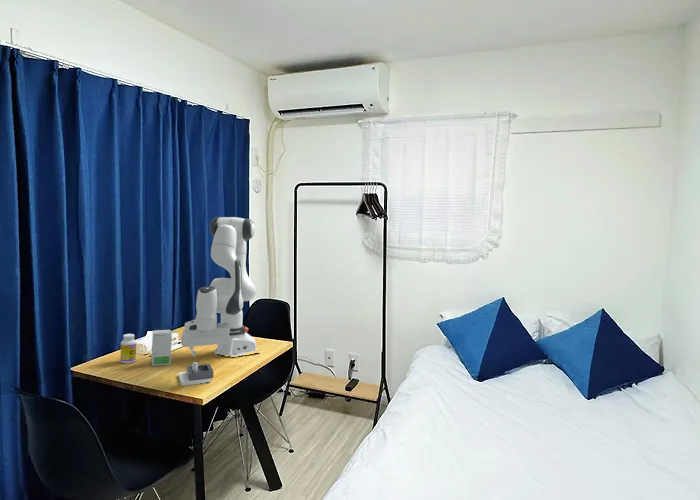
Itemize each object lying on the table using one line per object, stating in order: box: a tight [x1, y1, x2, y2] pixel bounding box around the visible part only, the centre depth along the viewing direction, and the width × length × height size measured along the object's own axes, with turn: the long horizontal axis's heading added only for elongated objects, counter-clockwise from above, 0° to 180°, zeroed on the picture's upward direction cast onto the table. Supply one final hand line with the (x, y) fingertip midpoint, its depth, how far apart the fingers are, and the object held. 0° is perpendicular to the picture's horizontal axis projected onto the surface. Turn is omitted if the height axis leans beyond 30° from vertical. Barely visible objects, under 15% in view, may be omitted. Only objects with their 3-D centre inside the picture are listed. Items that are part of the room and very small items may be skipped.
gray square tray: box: [185, 363, 214, 381], centre depth 193 cm, size 10×10×3 cm
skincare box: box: [151, 329, 173, 367], centre depth 208 cm, size 8×7×16 cm
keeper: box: [178, 361, 212, 387], centre depth 192 cm, size 12×12×8 cm
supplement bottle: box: [119, 333, 137, 364], centre depth 208 cm, size 7×7×13 cm
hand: (205, 354), depth 193 cm, fingers open, 8 cm apart
